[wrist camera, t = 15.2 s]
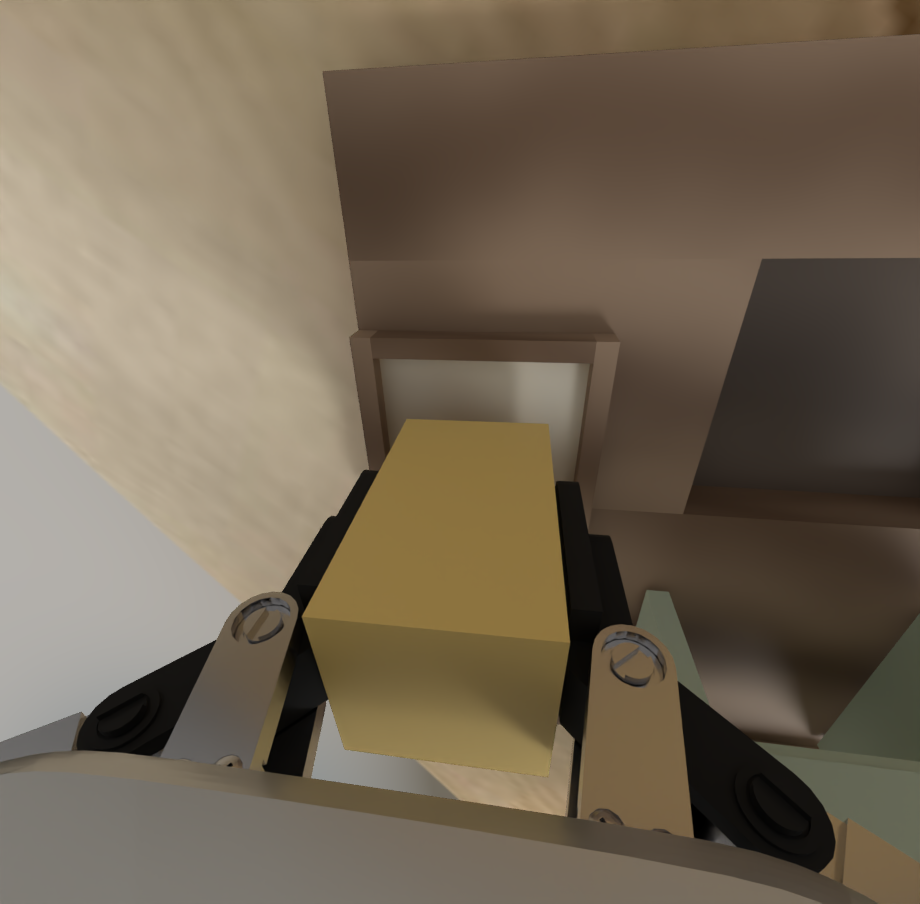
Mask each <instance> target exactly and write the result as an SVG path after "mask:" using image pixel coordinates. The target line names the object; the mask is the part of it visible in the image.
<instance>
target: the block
mask: <svg viewBox="0 0 920 904" xmlns="http://www.w3.org/2000/svg"><path fill="white" fill-rule="evenodd" d="M302 619H303V622H304V625H305V628H306V631H307V634H308V637H309V641H310V644H311V647H312V650H313V653H314V656H315V659H316V662H317V665H318V668H319V672H320V675H321V678H322V681H323V684H324V687H325V690H326V693H327V696H328V700H329V702H330V706H331V709H332V712H333V715H334V718H335V721H336V724H337V727H338V731H339V733H340V737H341V740H342V743H343V746H344V749H345V750H352V751H359V752H367V753H373V754H381V755H388V756H396V757H403V758H410V759H417V760H425V761H432V762H439V763H447V764H454V765H461V766H469V767H476V768H483V769H491V770H498V771H505V772H513V773H520V774H527V775H535V776H542V777H548V774H549V768H550V762H551V756H552V750H553V744H554V738H555V732H556V726H557V720H558V713H559V707H560V701H561V695H562V689H563V683H564V677H565V671H566V665H567V659H568V652H569V646H570V637H569V627H568V616H567V606H566V596H565V586H564V576H563V566H562V555H561V545H560V535H559V525H558V515H557V505H556V495H555V484H554V474H553V464H552V454H551V444H550V434H549V424H538V423H510V422H481V421H453V420H424V419H406V421H405V423H404V425H403V427H402V429H401V431H400V433H399V434H398V436H397V438H396V440H395V442H394V444H393V446H392V448H391V450H390V451H389V453H388V455H387V457H386V459H385V461H384V463H383V465H382V467H381V468H380V470H379V472H378V474H377V476H376V478H375V480H374V482H373V483H372V485H371V487H370V489H369V491H368V493H367V495H366V497H365V499H364V500H363V502H362V504H361V506H360V508H359V510H358V512H357V514H356V516H355V517H354V519H353V521H352V523H351V525H350V527H349V529H348V531H347V532H346V534H345V536H344V538H343V540H342V542H341V544H340V546H339V548H338V549H337V551H336V553H335V555H334V557H333V559H332V561H331V563H330V564H329V566H328V568H327V570H326V572H325V574H324V576H323V578H322V580H321V581H320V583H319V585H318V587H317V589H316V591H315V593H314V595H313V597H312V598H311V600H310V602H309V604H308V606H307V608H306V610H305V612H304V613H303V615H302Z"/></svg>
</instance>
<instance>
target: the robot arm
mask: <svg viewBox="0 0 920 904" xmlns="http://www.w3.org/2000/svg"><path fill="white" fill-rule="evenodd" d="M378 472H379V471H375V470H364V471H363V472H362V473H361V475H360V477H359V479H358V480H357V482H356V484H355V485H354V487H353V489H352V491H351V492H350V494H349V496H348V497H347V499H346V501H345V502H344V504H343V506H342V508H341V509H340V511H339V513H338V514H337V516H331V517H329V518H328V519H327V520H326V521H325V523H324V524H323V526H322V528H321V529H320V531H319V532H318V534H317V536H316V537H315V539H314V541H313V542H312V544H311V545H310V547H309V549H308V550H307V552H306V554H305V555H304V557H303V559H302V560H301V562H300V563H299V565H298V567H297V568H296V570H295V572H294V573H293V575H292V577H291V578H290V580H289V581H288V583H287V585H286V586H285V588H284V590H283V591H282V592H269V593H263V594H260V595H257V596H254V597H252V598H250V599H248V600H247V601H245V602H243V603H242V604H240V605H239V606H238V607H237V608H236V609H235V610H234V611H233V612H232V613H231V614H230V616H229V617H228V619H227V620H226V622H225V624H224V626H223V628H222V630H221V632H220V634H219V636H218V638H217V640H215V641H213V642H211V643H209V644H207V645H205V646H203V647H201V648H199V649H197V650H195V651H193V652H191V653H189V654H187V655H185V656H184V657H181V658H179V659H177V660H175V661H173V662H172V663H170V664H168V665H166V666H164V667H162V668H160V669H158V670H156V671H154V672H152V673H150V674H148V675H146V676H144V677H142V678H140V679H138V680H136V681H134V682H133V683H130V684H128V685H126V686H125V687H122V688H121V689H119V690H118V691H116V692H114V693H113V694H111V695H109V696H108V697H107V698H106V699H105V700H104V701H103V702H101V703H100V704H99V705H98V706H97V707H96V708H95V709H94V710H93V711H92V713H91V714H90V715H88V716H85V715H84V714H83V713H82V712H79V713H77V714H74V715H71V716H69V717H66V718H63V719H61V720H58V721H55V722H53V723H50V724H48V725H45V726H42V727H39V728H37V729H34V730H31V731H29V732H26V733H24V734H21V735H19V736H16V737H13V738H11V739H8V740H5V741H3V742H0V904H920V863H919V862H917V861H916V860H914V859H913V858H911V857H909V856H908V855H906V854H905V853H903V852H901V851H900V850H898V849H897V848H895V847H894V846H892V845H890V844H889V843H887V842H886V841H884V840H883V839H881V838H879V837H878V836H876V835H875V834H873V833H871V832H870V831H868V830H867V829H865V828H864V827H862V826H860V825H859V824H857V823H856V822H854V821H853V820H851V819H849V818H847V819H846V820H845V821H844V822H842V821H840V820H839V819H837V818H836V817H834V816H833V815H831V814H830V813H828V812H826V810H825V808H824V806H823V805H822V803H821V802H820V801H819V799H818V798H817V797H816V795H815V794H814V793H813V791H812V790H811V789H810V788H809V787H808V786H807V785H806V784H805V783H804V782H803V781H802V780H801V779H800V778H799V777H798V776H797V775H796V774H795V773H793V772H792V771H791V770H789V769H788V768H787V767H786V766H784V765H783V764H782V763H781V762H779V761H778V760H777V759H776V758H774V757H773V756H772V755H771V754H769V753H768V752H767V751H766V750H764V749H763V748H762V747H761V746H759V745H758V744H757V743H755V742H754V741H753V740H752V739H750V738H749V737H748V736H747V735H745V734H744V733H743V732H742V731H740V730H739V729H738V728H737V727H735V726H734V725H733V724H732V723H730V722H729V721H728V720H727V719H725V718H724V717H723V716H722V715H720V714H719V713H718V712H716V711H715V710H714V709H713V708H711V707H710V706H709V705H708V704H706V703H705V702H704V701H703V700H701V699H700V698H699V697H698V696H696V695H695V694H694V693H693V692H691V691H690V690H689V689H688V688H686V687H685V686H684V685H683V684H681V683H680V682H679V681H677V671H676V666H675V663H674V659H673V657H672V655H671V654H670V652H669V650H668V649H667V647H666V646H665V645H664V644H663V643H662V642H661V641H660V640H659V639H658V638H657V637H655V636H654V635H652V634H650V633H649V632H647V631H646V630H643V629H641V628H638V627H635V626H633V623H632V619H631V615H630V611H629V607H628V603H627V599H626V595H625V591H624V587H623V583H622V579H621V575H620V571H619V567H618V563H617V559H616V555H615V551H614V547H613V543H612V540H611V537H610V536H609V535H596V534H589V533H588V528H587V522H586V517H585V511H584V506H583V501H582V495H581V490H580V485H579V482H572V481H556V486H555V495H556V505H557V515H558V525H559V535H560V545H561V555H562V566H563V576H564V586H565V596H566V606H567V616H568V627H569V637H570V646H569V652H568V659H567V665H566V671H565V677H564V683H563V689H562V695H561V701H560V707H559V713H558V716H559V722H560V724H561V725H562V726H563V727H564V728H565V729H566V730H567V731H568V732H569V733H570V735H571V736H572V737H573V743H572V753H571V764H570V774H569V784H568V794H567V805H566V815H565V817H564V816H558V815H551V814H545V813H538V812H532V811H525V810H519V809H512V808H506V807H499V806H493V805H486V804H480V803H473V802H467V801H460V800H453V799H447V798H440V797H433V796H427V795H420V794H413V793H407V792H400V791H393V790H386V789H379V788H373V787H365V786H359V785H353V784H346V783H339V782H332V781H326V780H319V779H312V778H311V775H312V771H313V766H314V761H315V756H316V751H317V746H318V741H319V736H320V732H321V727H322V722H323V717H324V712H325V707H326V701H327V700H328V696H327V693H326V690H325V687H324V684H323V681H322V678H321V675H320V672H319V668H318V665H317V662H316V659H315V656H314V653H313V650H312V647H311V644H310V641H309V637H308V634H307V631H306V628H305V625H304V622H303V619H302V615H303V613H304V612H305V610H306V608H307V606H308V604H309V602H310V600H311V598H312V597H313V595H314V593H315V591H316V589H317V587H318V585H319V583H320V581H321V580H322V578H323V576H324V574H325V572H326V570H327V568H328V566H329V564H330V563H331V561H332V559H333V557H334V555H335V553H336V551H337V549H338V548H339V546H340V544H341V542H342V540H343V538H344V536H345V534H346V532H347V531H348V529H349V527H350V525H351V523H352V521H353V519H354V517H355V516H356V514H357V512H358V510H359V508H360V506H361V504H362V502H363V500H364V499H365V497H366V495H367V493H368V491H369V489H370V487H371V485H372V483H373V482H374V480H375V478H376V476H377V474H378Z"/></svg>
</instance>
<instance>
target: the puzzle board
mask: <svg viewBox="0 0 920 904" xmlns="http://www.w3.org/2000/svg"><path fill="white" fill-rule="evenodd" d="M323 78H324V85H325V92H326V99H327V106H328V114H329V121H330V128H331V135H332V142H333V149H334V157H335V164H336V171H337V178H338V185H339V192H340V199H341V207H342V214H343V221H344V228H345V235H346V242H347V250H348V257H349V264H350V271H351V278H352V285H353V293H354V300H355V307H356V314H357V321H358V328H359V330H358V331H357V332H356V333H354V334H353V335H352V336H351V337H349V338H350V345H351V351H352V358H353V365H354V371H355V378H356V384H357V391H358V397H359V404H360V411H361V417H362V424H363V430H364V437H365V443H366V450H367V457H368V463H369V470H375V471H379V470H380V468H381V467H382V465H383V463H384V461H385V459H386V457H387V455H388V453H389V451H390V450H391V448H392V446H393V444H394V442H395V440H396V438H397V436H398V434H399V433H400V431H401V429H402V427H403V425H404V423H405V421H406V419H424V420H453V421H481V422H510V423H538V424H549V434H550V444H551V454H552V464H553V474H554V484H555V486H556V481H572V482H579V485H580V490H581V495H582V501H583V506H584V511H585V517H586V522H587V528H588V533H589V534H596V535H609V536H610V537H611V540H612V543H613V547H614V551H615V555H616V559H617V563H618V567H619V571H620V575H621V579H622V583H623V587H624V591H625V595H626V599H627V603H628V607H629V611H630V615H631V619H632V623H633V626H635V627H636V625H637V621H638V618H639V614H640V611H641V607H642V604H643V600H644V597H645V593H646V590H654V591H666V592H669V594H670V596H671V599H672V602H673V605H674V608H675V610H676V613H677V616H678V619H679V621H680V624H681V627H682V630H683V633H684V635H685V638H686V641H687V644H688V646H689V649H690V652H691V655H692V658H693V660H694V663H695V666H696V669H697V671H698V674H699V677H700V680H701V683H702V685H703V688H704V691H705V694H706V696H707V699H708V702H709V705H710V707H711V708H713V709H714V710H715V711H716V712H718V713H719V714H720V715H722V716H723V717H724V718H725V719H727V720H728V721H729V722H730V723H732V724H733V725H734V726H735V727H737V728H738V729H739V730H740V731H742V732H743V733H744V734H745V735H747V736H748V737H749V738H750V739H752V740H753V741H754V742H762V743H771V744H779V745H787V746H795V747H803V748H811V749H819V747H818V746H817V744H818V743H819V741H820V740H821V739H822V738H823V736H824V735H825V734H826V732H827V731H828V730H829V729H830V727H831V726H832V725H833V723H834V722H835V721H836V720H837V718H838V717H839V716H840V715H841V713H842V712H843V711H844V709H845V708H846V707H847V706H848V704H849V703H850V702H851V700H852V699H853V698H854V697H855V695H856V694H857V693H858V692H859V690H860V689H861V688H862V686H863V685H864V684H865V683H866V681H867V680H868V679H869V677H870V676H871V675H872V674H873V672H874V671H875V670H876V669H877V667H878V666H879V665H880V663H881V662H882V661H883V660H884V658H885V657H886V656H887V655H888V653H889V652H890V651H891V649H892V648H893V647H894V646H895V644H896V643H897V642H898V640H899V639H900V638H901V637H902V635H903V634H904V633H905V632H906V630H907V629H908V628H909V626H910V625H911V624H912V623H913V621H914V620H915V619H916V617H917V616H918V615H919V614H920V34H913V35H897V36H881V37H865V38H849V39H833V40H817V41H801V42H785V43H769V44H753V45H737V46H721V47H705V48H689V49H673V50H657V51H641V52H625V53H609V54H593V55H577V56H561V57H544V58H528V59H512V60H496V61H480V62H464V63H448V64H432V65H416V66H400V67H384V68H368V69H352V70H336V71H323ZM557 724H560V722H559V716H558V720H557ZM560 725H561V724H560Z"/></svg>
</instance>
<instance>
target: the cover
mask: <svg viewBox="0 0 920 904" xmlns="http://www.w3.org/2000/svg"><path fill="white" fill-rule="evenodd" d="M636 627H638V628H641V629H643V630H646V631H647V632H649V633H650V634H652V635H654V636H655V637H657V638H658V639H659V640H660V641H661V642H662V643H663V644H664V645H665V646H666V647H667V649H668V650H669V652H670V654H671V655H672V657H673V659H674V663H675V666H676V671H677V681H679V682H680V683H681V684H683V685H684V686H685V687H686V688H688V689H689V690H690V691H691V692H693V693H694V694H695V695H696V696H698V697H699V698H700V699H701V700H703V701H704V702H705V703H706V704H708V705H709V702H708V699H707V696H706V694H705V691H704V688H703V685H702V683H701V680H700V677H699V674H698V671H697V669H696V666H695V663H694V660H693V658H692V655H691V652H690V649H689V646H688V644H687V641H686V638H685V635H684V633H683V630H682V627H681V624H680V621H679V619H678V616H677V613H676V610H675V608H674V605H673V602H672V599H671V596H670V594H669V592H666V591H654V590H646V593H645V597H644V600H643V604H642V607H641V611H640V614H639V618H638V621H637V625H636ZM709 706H710V705H709ZM755 743H757V744H758V745H759V746H761V747H762V748H763V749H764V750H766V751H767V752H768V753H769V754H771V755H772V756H773V757H774V758H776V759H777V760H778V761H779V762H781V763H782V764H783V765H784V766H786V767H787V768H788V769H789V770H791V771H792V772H793V773H795V774H796V775H797V776H798V777H799V778H800V779H801V780H802V781H803V782H804V783H805V784H806V785H807V786H808V787H809V788H810V789H811V790H812V791H813V793H814V794H815V795H816V797H817V798H818V799H819V801H820V802H821V803H822V805H823V806H824V808H825V810H826V812H828V813H830V814H831V815H833V816H834V817H836V818H837V819H839V820H840V821H842V822H844V821H845V820H846V819H847V818H849V819H851V820H853V821H854V822H856V823H857V824H859V825H860V826H862V827H864V828H865V829H867V830H868V831H870V832H871V833H873V834H875V835H876V836H878V837H879V838H881V839H883V840H884V841H886V842H887V843H889V844H890V845H892V846H894V847H895V848H897V849H898V850H900V851H901V852H903V853H905V854H906V855H908V856H909V857H911V858H913V859H914V860H916V861H917V862H919V863H920V614H919V615H918V616H917V617H916V619H915V620H914V621H913V623H912V624H911V625H910V626H909V628H908V629H907V630H906V632H905V633H904V634H903V635H902V637H901V638H900V639H899V640H898V642H897V643H896V644H895V646H894V647H893V648H892V649H891V651H890V652H889V653H888V655H887V656H886V657H885V658H884V660H883V661H882V662H881V663H880V665H879V666H878V667H877V669H876V670H875V671H874V672H873V674H872V675H871V676H870V677H869V679H868V680H867V681H866V683H865V684H864V685H863V686H862V688H861V689H860V690H859V692H858V693H857V694H856V695H855V697H854V698H853V699H852V700H851V702H850V703H849V704H848V706H847V707H846V708H845V709H844V711H843V712H842V713H841V715H840V716H839V717H838V718H837V720H836V721H835V722H834V723H833V725H832V726H831V727H830V729H829V730H828V731H827V732H826V734H825V735H824V736H823V738H822V739H821V740H820V741H819V743H818V744H817V746H818V747H819V749H811V748H803V747H795V746H787V745H779V744H771V743H762V742H755Z"/></svg>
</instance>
